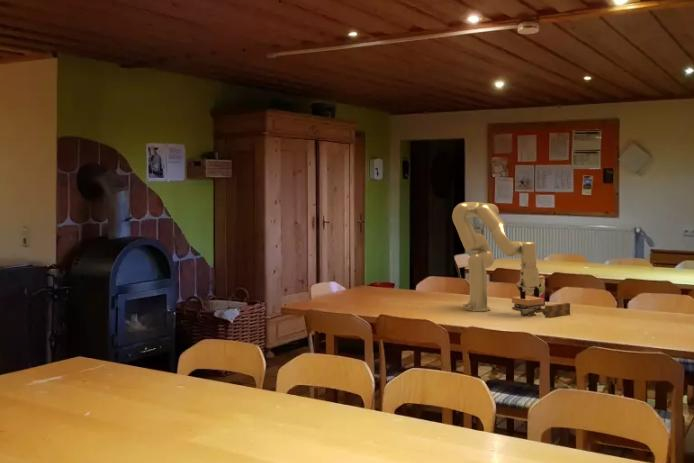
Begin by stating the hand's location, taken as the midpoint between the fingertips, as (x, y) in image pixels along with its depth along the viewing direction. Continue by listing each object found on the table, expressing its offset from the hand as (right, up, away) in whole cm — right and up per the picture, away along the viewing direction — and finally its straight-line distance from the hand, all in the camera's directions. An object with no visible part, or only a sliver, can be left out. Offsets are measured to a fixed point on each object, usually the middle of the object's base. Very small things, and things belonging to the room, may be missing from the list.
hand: (529, 297), depth 375 cm
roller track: (+6, -8, +13) cm, 16 cm away
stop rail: (+14, -9, -2) cm, 17 cm away
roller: (0, -9, +1) cm, 9 cm away
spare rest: (0, -9, +1) cm, 9 cm away
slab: (+3, -5, +17) cm, 18 cm away
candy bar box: (+11, -7, +32) cm, 34 cm away
